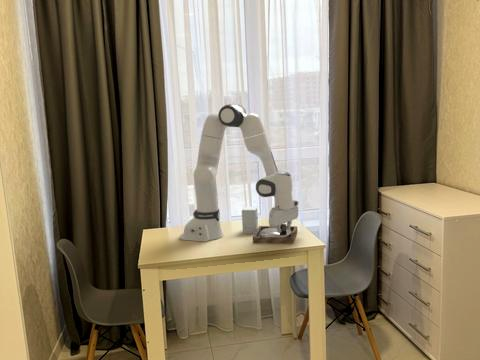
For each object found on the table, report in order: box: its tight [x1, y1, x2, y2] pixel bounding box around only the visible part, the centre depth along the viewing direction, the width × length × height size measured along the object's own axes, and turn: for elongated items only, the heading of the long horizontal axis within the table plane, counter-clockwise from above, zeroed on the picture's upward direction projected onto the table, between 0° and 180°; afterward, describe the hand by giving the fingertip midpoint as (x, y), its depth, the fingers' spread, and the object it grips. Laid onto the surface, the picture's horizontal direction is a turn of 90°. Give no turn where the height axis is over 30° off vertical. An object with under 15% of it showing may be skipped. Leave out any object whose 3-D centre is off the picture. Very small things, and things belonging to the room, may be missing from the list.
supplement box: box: [241, 206, 259, 234], centre depth 261 cm, size 7×7×13 cm
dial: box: [260, 223, 292, 237], centre depth 248 cm, size 16×16×7 cm
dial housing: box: [252, 225, 298, 245], centre depth 249 cm, size 20×20×3 cm
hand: (283, 231), depth 244 cm, fingers open, 6 cm apart
